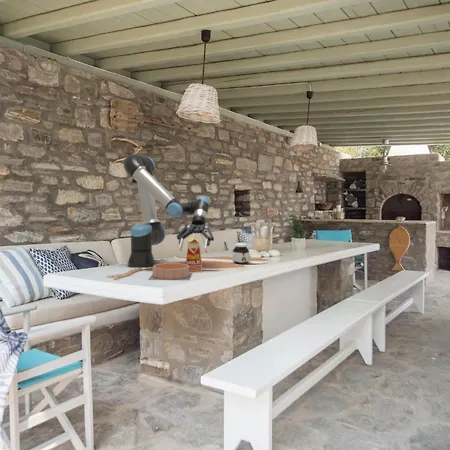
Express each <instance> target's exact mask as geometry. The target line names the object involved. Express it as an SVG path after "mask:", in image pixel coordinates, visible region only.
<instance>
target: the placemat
mask: <svg viewBox="0 0 450 450" xmlns="http://www.w3.org/2000/svg"><path fill="white" fill-rule="evenodd" d="M192 275H193V273H192V272H190V274H189V277H187V278H184V279H175V280H174V281H191V278H192ZM147 281H167V280H166V279H157V278H154V277H153V273H152V275H151V276H150V277H149V278H148V279H147Z"/></svg>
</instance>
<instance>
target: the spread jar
mask: <svg viewBox="0 0 450 450" xmlns="http://www.w3.org/2000/svg"><path fill="white" fill-rule="evenodd" d="M247 245H248V244H247V243H239V242H238V243H235V245H234V248H233V249H232V261H233V263H234V264H237V265H246V264H247V263H248V262H249V261H250V259H251V253H250V251H249V248H248V247H247Z"/></svg>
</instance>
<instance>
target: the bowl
mask: <svg viewBox="0 0 450 450" xmlns="http://www.w3.org/2000/svg"><path fill="white" fill-rule="evenodd" d="M190 273H191V272H190V266H189V265H187V264H186V263H179V262H178V263H175V262H173V263H172V262H168V263H158V264H155V265H154V266H153V267H152V274H153V277H154V278H157V279H166V280H165V281H176V280H175V279H184V278H187V277H189V274H190Z"/></svg>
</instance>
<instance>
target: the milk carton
mask: <svg viewBox="0 0 450 450" xmlns="http://www.w3.org/2000/svg"><path fill="white" fill-rule="evenodd" d="M185 264H187V265H189V266H190V273H192V274H193V273H203V263H202V253H201V246H200V241H199V240H198V238H197V237H195V233H193V234H192V237H190V238H188V239H187V251H186V260H185Z"/></svg>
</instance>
